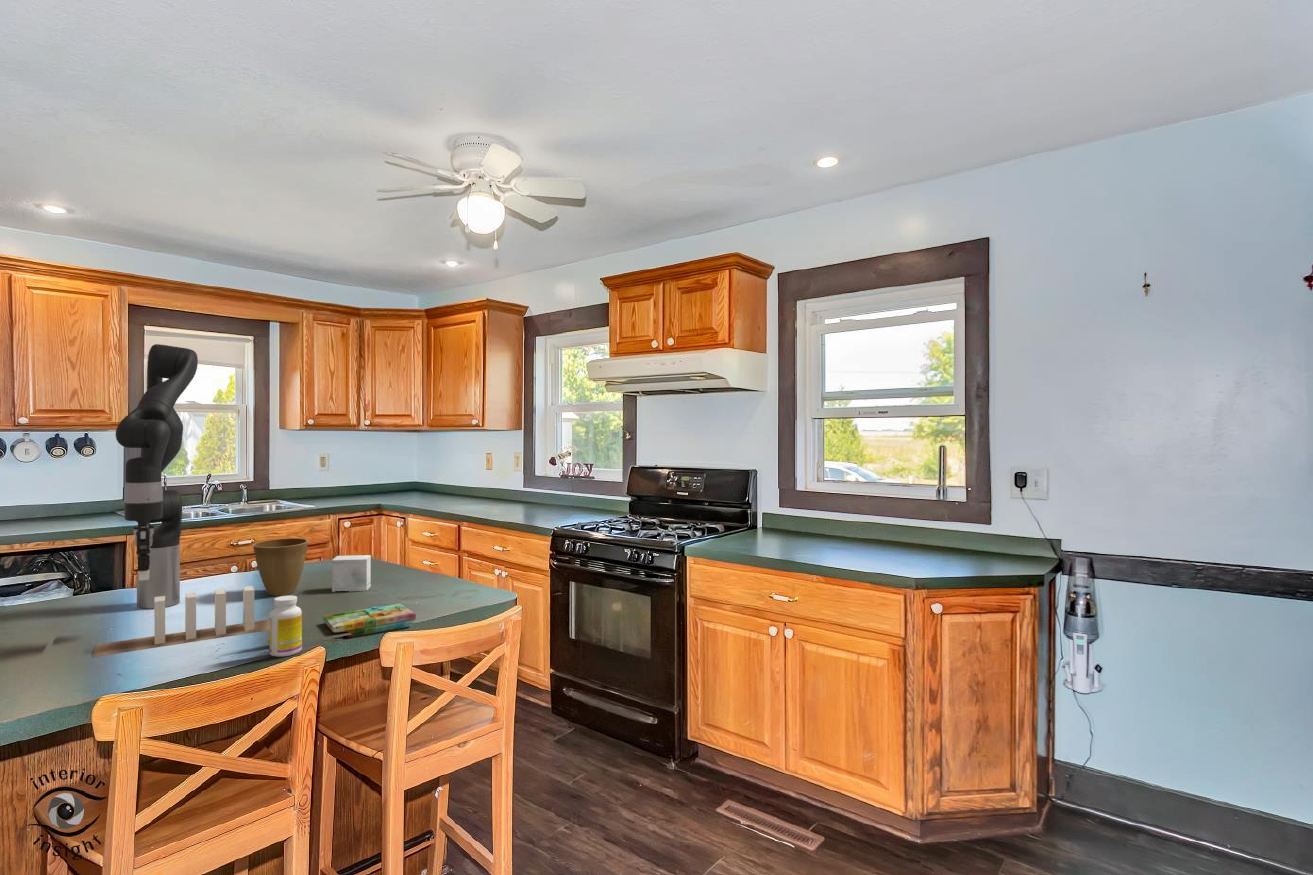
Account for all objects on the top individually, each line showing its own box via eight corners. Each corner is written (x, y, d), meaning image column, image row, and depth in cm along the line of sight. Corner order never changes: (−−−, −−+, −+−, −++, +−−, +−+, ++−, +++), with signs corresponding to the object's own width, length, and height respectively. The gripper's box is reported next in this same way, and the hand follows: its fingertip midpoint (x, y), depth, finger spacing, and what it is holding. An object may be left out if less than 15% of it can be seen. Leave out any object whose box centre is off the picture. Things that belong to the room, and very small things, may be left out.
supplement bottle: (308, 650, 157) (308, 595, 157) (284, 659, 151) (284, 602, 151) (286, 646, 159) (286, 593, 159) (262, 655, 153) (262, 600, 153)
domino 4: (216, 635, 162) (216, 594, 162) (214, 630, 166) (214, 590, 166) (225, 633, 163) (225, 593, 163) (224, 628, 167) (224, 589, 167)
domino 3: (186, 639, 159) (185, 598, 158) (185, 634, 163) (185, 593, 162) (196, 638, 160) (196, 596, 160) (195, 632, 164) (195, 592, 164)
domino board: (91, 663, 147) (91, 657, 146) (95, 651, 155) (95, 644, 155) (278, 634, 168) (278, 628, 168) (273, 624, 176) (273, 619, 176)
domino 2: (154, 644, 155) (154, 601, 155) (154, 638, 159) (154, 597, 159) (165, 642, 156) (165, 600, 156) (165, 637, 160) (165, 595, 160)
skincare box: (331, 592, 210) (331, 559, 209) (336, 587, 216) (336, 555, 216) (366, 591, 212) (366, 558, 211) (371, 586, 218) (371, 554, 218)
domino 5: (245, 630, 166) (245, 590, 166) (243, 625, 170) (243, 586, 170) (254, 629, 167) (254, 589, 167) (252, 624, 171) (252, 585, 171)
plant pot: (267, 587, 214) (266, 538, 214) (315, 587, 216) (315, 537, 216) (243, 599, 200) (243, 546, 199) (295, 599, 201) (295, 546, 201)
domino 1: (138, 580, 163) (138, 539, 162) (139, 576, 167) (138, 536, 166) (148, 579, 164) (148, 539, 164) (149, 575, 168) (149, 536, 168)
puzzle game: (415, 610, 175) (332, 623, 163) (415, 628, 175) (332, 642, 163) (402, 600, 185) (322, 612, 173) (402, 617, 185) (322, 630, 173)
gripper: (162, 502, 161) (162, 572, 162) (162, 496, 173) (162, 561, 173) (122, 504, 157) (122, 576, 157) (125, 497, 168) (125, 565, 169)
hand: (143, 568), depth 165 cm, fingers closed on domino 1, 5 cm apart
